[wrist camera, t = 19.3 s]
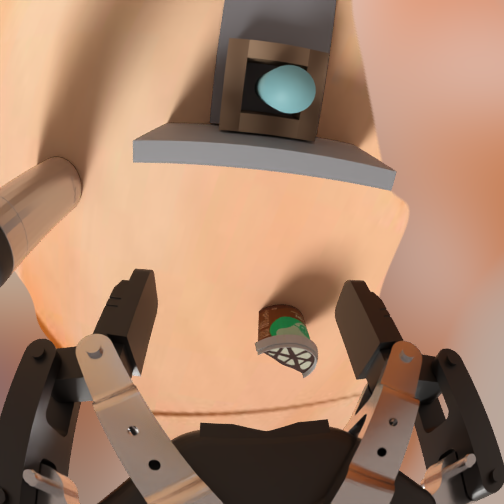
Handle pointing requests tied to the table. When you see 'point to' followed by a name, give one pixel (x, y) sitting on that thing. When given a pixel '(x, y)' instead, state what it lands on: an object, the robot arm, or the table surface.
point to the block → (263, 122)
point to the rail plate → (269, 39)
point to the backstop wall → (261, 153)
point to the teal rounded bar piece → (286, 89)
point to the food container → (286, 338)
